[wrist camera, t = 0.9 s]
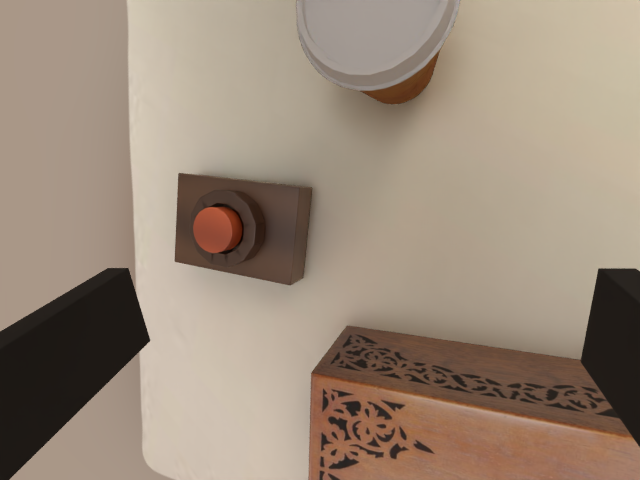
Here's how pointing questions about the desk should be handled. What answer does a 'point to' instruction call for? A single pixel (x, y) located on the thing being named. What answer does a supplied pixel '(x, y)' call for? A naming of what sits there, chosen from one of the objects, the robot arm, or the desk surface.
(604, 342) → the robot arm
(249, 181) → the console
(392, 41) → the disposable coffee cup
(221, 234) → the button
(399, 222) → the desk surface
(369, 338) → the tissue box cover
